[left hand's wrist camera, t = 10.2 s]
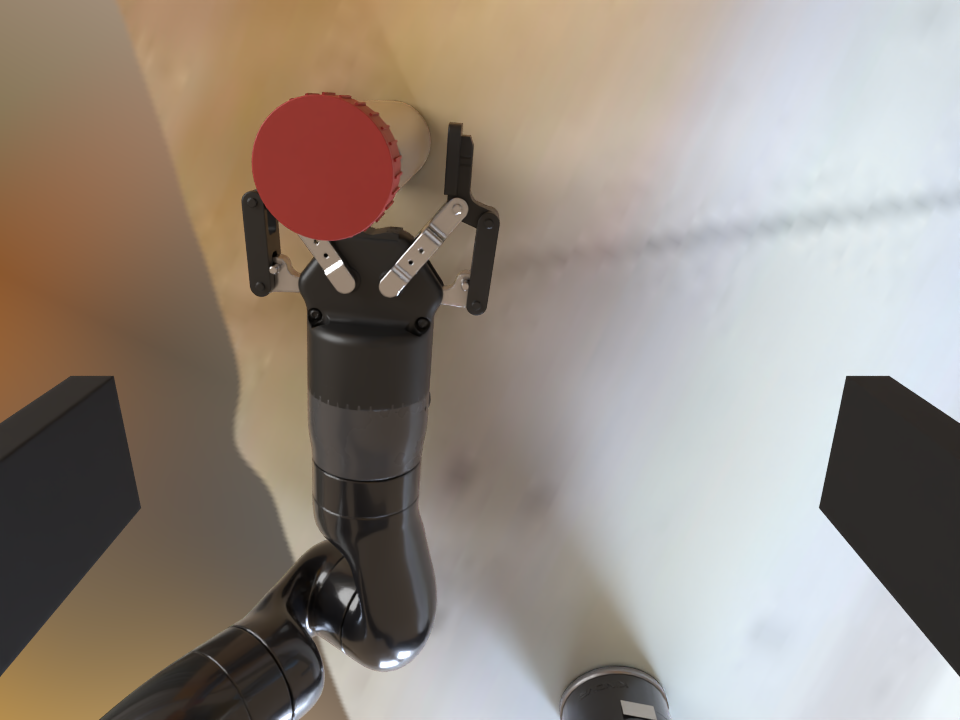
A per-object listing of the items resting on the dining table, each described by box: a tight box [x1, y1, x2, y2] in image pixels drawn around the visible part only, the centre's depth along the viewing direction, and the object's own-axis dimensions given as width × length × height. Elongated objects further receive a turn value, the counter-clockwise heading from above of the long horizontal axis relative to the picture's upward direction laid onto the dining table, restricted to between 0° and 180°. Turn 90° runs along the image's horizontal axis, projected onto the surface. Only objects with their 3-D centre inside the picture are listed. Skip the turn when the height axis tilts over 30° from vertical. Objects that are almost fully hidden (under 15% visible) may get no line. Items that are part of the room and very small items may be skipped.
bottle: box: [357, 100, 431, 193], centre depth 34 cm, size 5×5×19 cm
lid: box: [252, 92, 402, 241], centre depth 26 cm, size 5×5×2 cm
